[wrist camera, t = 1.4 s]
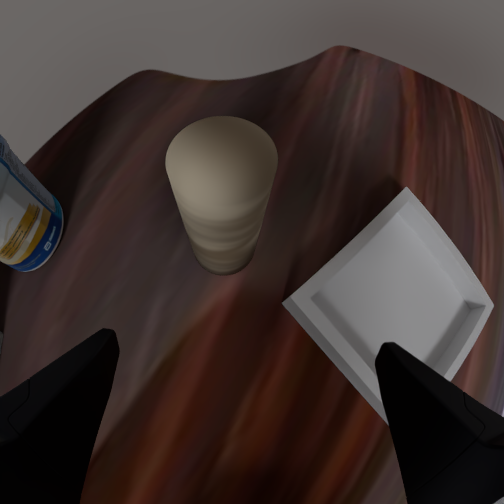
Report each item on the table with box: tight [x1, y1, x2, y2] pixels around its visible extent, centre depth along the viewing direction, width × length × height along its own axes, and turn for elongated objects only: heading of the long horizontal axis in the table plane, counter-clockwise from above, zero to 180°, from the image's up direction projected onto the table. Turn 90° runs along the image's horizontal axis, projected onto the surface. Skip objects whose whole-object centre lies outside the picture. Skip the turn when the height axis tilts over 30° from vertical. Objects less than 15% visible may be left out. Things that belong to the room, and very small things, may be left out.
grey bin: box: [282, 187, 494, 425], centre depth 22 cm, size 15×15×3 cm
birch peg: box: [166, 116, 278, 275], centre depth 18 cm, size 5×5×12 cm
